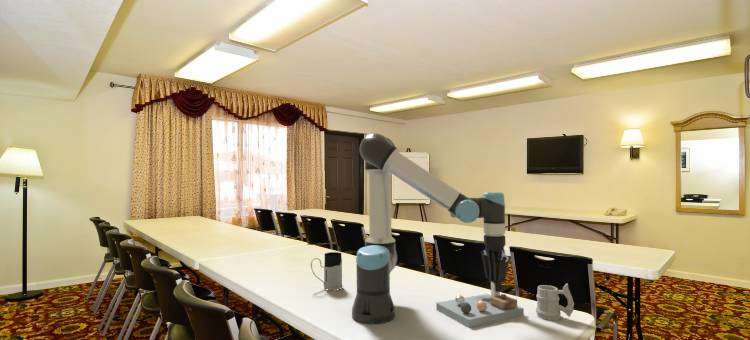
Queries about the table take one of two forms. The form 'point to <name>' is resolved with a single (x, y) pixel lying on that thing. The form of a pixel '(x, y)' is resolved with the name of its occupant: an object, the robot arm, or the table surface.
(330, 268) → the glass holder
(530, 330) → the table surface
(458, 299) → the steel ball
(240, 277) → the table surface
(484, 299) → the board
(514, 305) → the cover
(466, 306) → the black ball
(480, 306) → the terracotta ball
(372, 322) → the robot arm
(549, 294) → the mug
